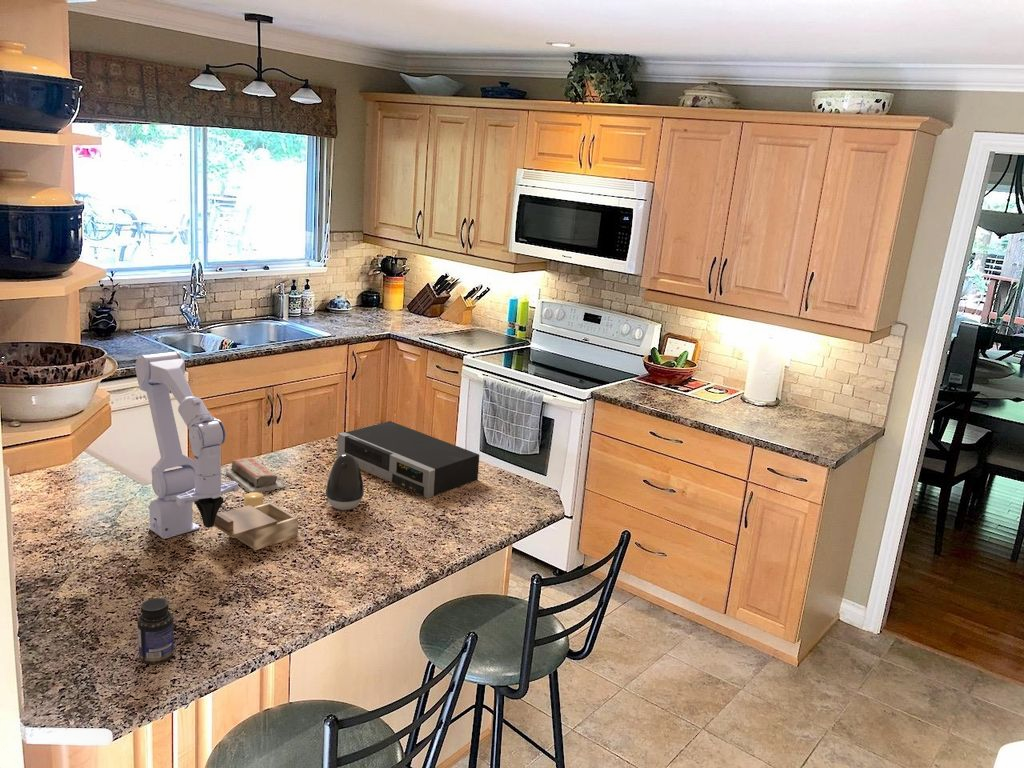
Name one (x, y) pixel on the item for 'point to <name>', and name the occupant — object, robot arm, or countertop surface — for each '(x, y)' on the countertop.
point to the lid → (242, 521)
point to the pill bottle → (155, 632)
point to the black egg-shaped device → (345, 483)
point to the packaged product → (253, 476)
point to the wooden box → (272, 528)
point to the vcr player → (410, 458)
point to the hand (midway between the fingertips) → (208, 526)
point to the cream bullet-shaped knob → (253, 499)
